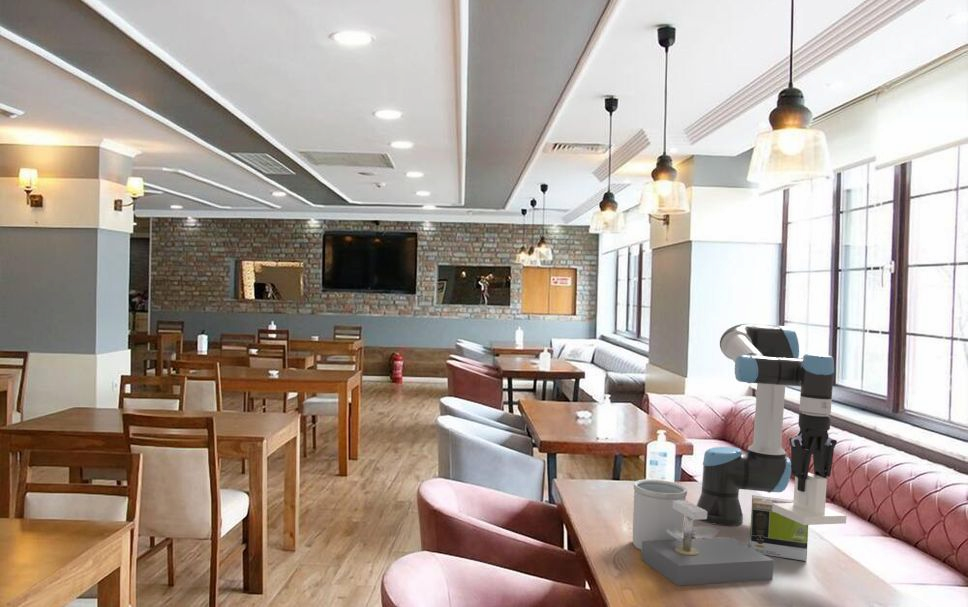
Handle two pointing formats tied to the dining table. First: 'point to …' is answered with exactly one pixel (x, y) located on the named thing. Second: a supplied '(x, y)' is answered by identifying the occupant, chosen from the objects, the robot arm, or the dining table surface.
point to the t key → (687, 521)
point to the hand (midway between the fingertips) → (808, 503)
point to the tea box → (776, 531)
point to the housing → (707, 561)
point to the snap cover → (810, 505)
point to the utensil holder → (656, 510)
